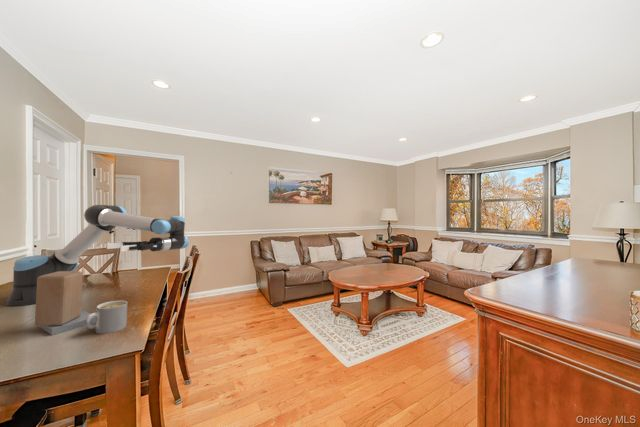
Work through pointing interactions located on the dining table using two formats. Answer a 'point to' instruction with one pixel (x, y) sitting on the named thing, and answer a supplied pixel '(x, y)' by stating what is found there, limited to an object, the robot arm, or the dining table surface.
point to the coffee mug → (109, 317)
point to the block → (58, 298)
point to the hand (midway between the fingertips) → (113, 247)
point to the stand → (69, 324)
